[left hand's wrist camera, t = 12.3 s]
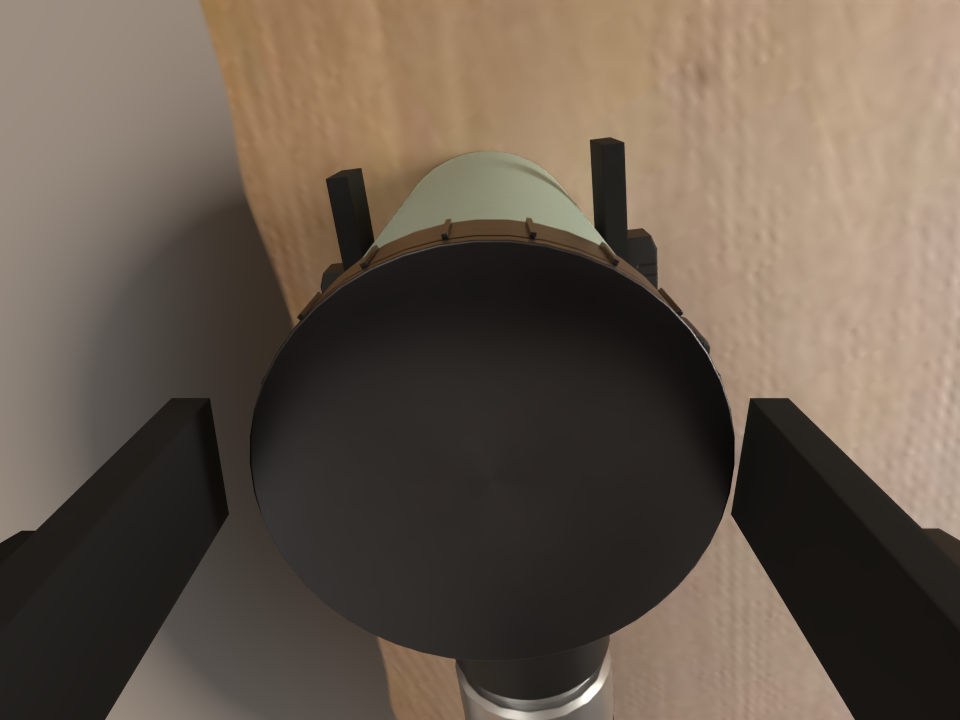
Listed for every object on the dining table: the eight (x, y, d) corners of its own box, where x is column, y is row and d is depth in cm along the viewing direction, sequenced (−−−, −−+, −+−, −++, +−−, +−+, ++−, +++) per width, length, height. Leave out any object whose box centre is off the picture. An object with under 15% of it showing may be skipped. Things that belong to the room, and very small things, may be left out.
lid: (439, 655, 17) (434, 724, 15) (185, 376, 14) (139, 419, 12) (776, 481, 15) (817, 537, 13) (560, 115, 12) (573, 119, 10)
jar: (464, 364, 33) (438, 694, 15) (359, 222, 31) (173, 412, 13) (614, 271, 32) (791, 519, 13) (515, 110, 29) (566, 142, 11)
